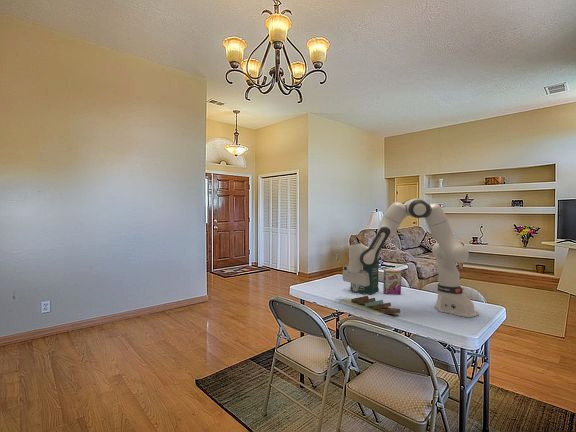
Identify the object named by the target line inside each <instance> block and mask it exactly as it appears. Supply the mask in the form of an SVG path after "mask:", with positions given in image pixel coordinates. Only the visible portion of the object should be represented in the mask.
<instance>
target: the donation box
mask: <svg viewBox="0 0 576 432" xmlns="http://www.w3.org/2000/svg"><path fill="white" fill-rule="evenodd" d="M379 266H380V257H379V258H378V261H377V264H376V265H375V266H374V267H372V268H367V267H364V266H363V270H364V271H367V272H368V273H369V281H370V285H369V286H366V287H365V286H361V285H360V286H359V288H358V291H354V290H353V287H352V285H351V284H350V287H349V288H350V292H352V293H354V294H358V295H366V296H372V295H374V294H377V293H379V291H380V289H379ZM355 287H356V284H355ZM376 292H377V293H376Z"/></svg>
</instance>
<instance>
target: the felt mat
mask: <svg viewBox="0 0 576 432" xmlns="http://www.w3.org/2000/svg"><path fill="white" fill-rule="evenodd" d="M354 298H355V297H353V298H349V299H344V300H339V302H341V303H343V304H346V305H347V306H348V305H349V306H351V307H354V308H356V309H359V310H363V311H365V312H368V313H370V314H374V315H377V316H381V315H385V314H387V313H382V312H380V311H379V309H372V306H368V307H365V304H359V305H358V302H357V301H356V302H352V301H351V299H354Z"/></svg>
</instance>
